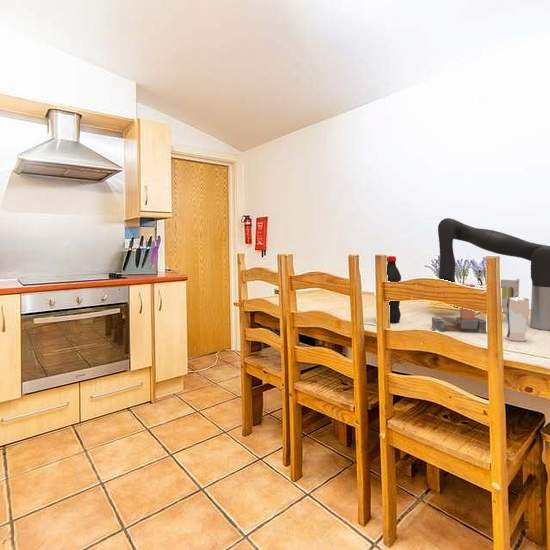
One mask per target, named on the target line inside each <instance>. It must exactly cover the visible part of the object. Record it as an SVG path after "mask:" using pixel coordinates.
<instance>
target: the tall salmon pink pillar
mask: <svg viewBox="0 0 550 550" xmlns="http://www.w3.org/2000/svg"><path fill="white" fill-rule="evenodd" d="M461 284H462V285H466V286H470V287H475V288H476V285H475V284H473V283H461ZM474 318H475V310H474V311H472V310H468V309H463V308H459V316H456V320H455V323H456V324H460V328H462V329H477V326H478V321H477V320H476V319H474Z"/></svg>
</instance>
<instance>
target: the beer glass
mask: <svg viewBox="0 0 550 550" xmlns="http://www.w3.org/2000/svg"><path fill="white" fill-rule="evenodd" d="M529 300H530V299H529V298H527V297H526V298H525V297H519V296H518V297H509V298H507V303H506V313H505V316H506V318H505V319H506V324H507V333H506V337H505V339H506V340H510V341H514V342H526V341H527V337H526V327H527V323H528V319H529V313H530V303H529V302H530V301H529Z"/></svg>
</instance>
